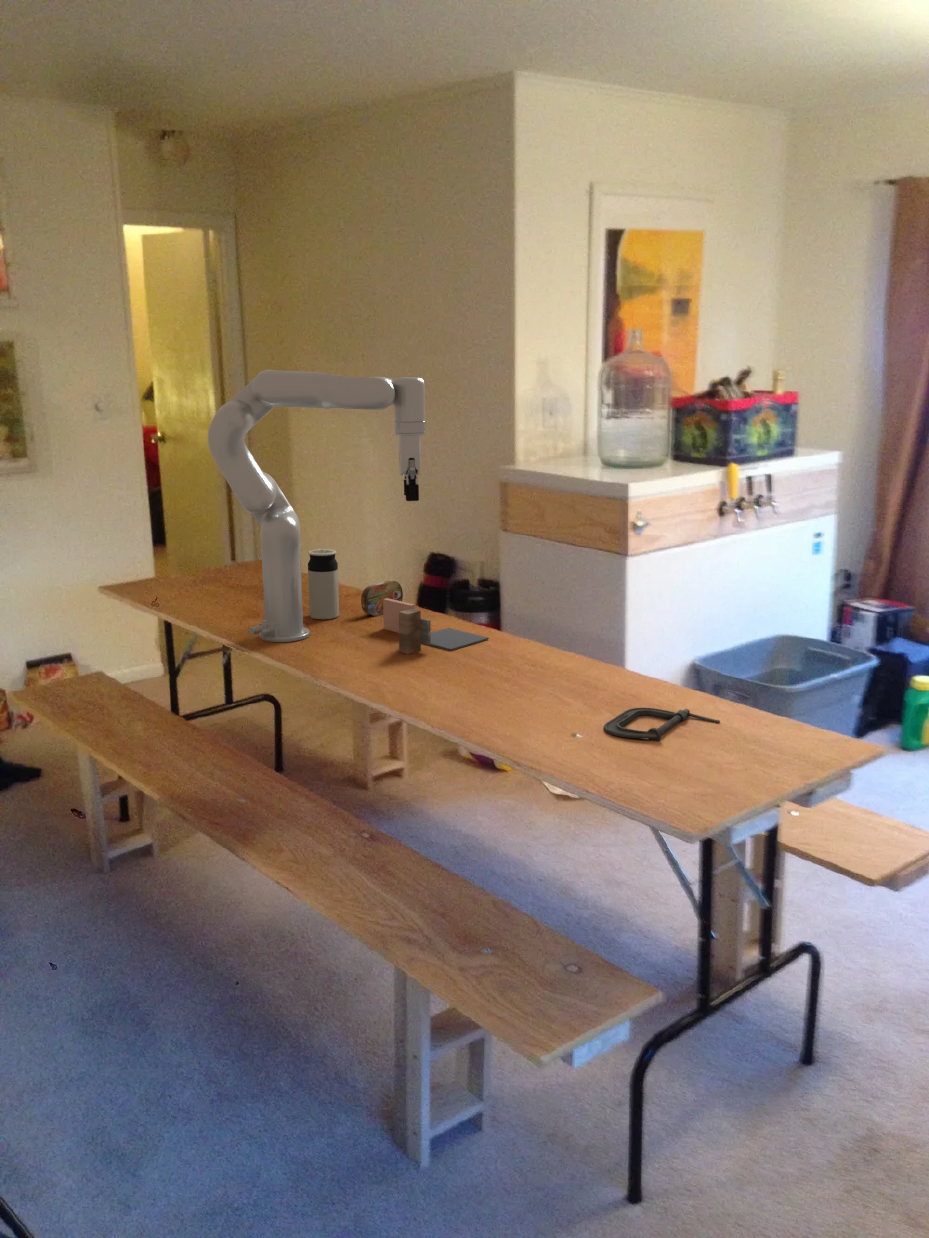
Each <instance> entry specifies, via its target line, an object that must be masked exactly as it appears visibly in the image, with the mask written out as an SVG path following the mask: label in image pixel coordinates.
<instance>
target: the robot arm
mask: <svg viewBox="0 0 929 1238" xmlns="http://www.w3.org/2000/svg"><path fill="white" fill-rule="evenodd" d="M275 407H277V408H278V407H281V408H305V409H306V408H309V409H311V408H312V409H329V410H330V409H348V410H349V409H350V410H351V409H352V410H370V411H379V410H380V411H381V410H385V409H387V408H389V407H394V435H395V436H398V465H399V466H398V469H399V470H398V472H399V475H400V476H401V477H403V476H404V479H403V495H404V496H405V501H406V502H419V500H420V489H419V488H420V487H419V486H420V485H419V481H418V478H419V476H420V474H421V461H422V460H421V459H422V457H421V455H422V452H421V451H422V448H421V447H422V439H421V437H422V436H425V435H426V384H425V381H424V379H423V378H421V377H418V376H417V377H416V376H415V377H414V376H413V377H412V376H407V377H405V376H404V377H397V378H394V377H384V376H372V377H368V376H367V377H366V376H365V377H364V376H363V377H361V376H346V375H345V376H343V375H337V374H331V373H328V372H322V371H321V372H320V371H302V370H301V371H299V370H296V371H294V370H275V369H264V370H262V371H260V372H259V373H257V375H256V376H255V377H254V378H253V379H251V380H250V381H249V382H248V383H247V384H246V385H245V386H244V387H243V388H242V389H241V390H240V391H239V392H238V393H236V394H235V395H234V396H233V397H231V398H230V400H228V401H227V402H226V403H224V404H223V405H221V406H220V408H219V409H218V410H217V411H216V412H215V414H214V416H213V417H212V420H211V422H210V425H209V426H208V427H209V428H208V433H207V445H208V450H209V452H210V455H211V457H212V459H213V460H214V462H215V464H216V466H217V467H218V469H219V471H220V473H221V474H222V476H223V477H224V479H225V481H226V482H227V484H228V485H229V487H230V488H231V491H232V492H233V493H234V495H235V496H236V498H237V500H238V502H239V503H240V505H241V506H242V508H243V509H245V510H246V511H248V512H249V513H250V514H252V516H253V518H254V520H255V521H256V522H257V524H258V525H259V527H260V535H259V536H260V538H259V539H260V551H261V564H262V565H261V566H262V567H261V568H262V569H261V570H262V585H263V607H264V608H263V611H264V619H261V620H260V621H261V622H260V624H259V625H256V626H250V627H249V630H248V632H249V634H250V635H251V636H253V635H258V634H259V636H258V637H259V638H260V639H261V640H263V641H266V642H267V641H268V642H273V643H274V642H275V643H290V642H297V641H301V640H305V639H307V638H309V636H310V633H311V632H310V630H309V629H308V628H307V627H305V626H304V613H303V611H304V610H303V607H304V605H303V584H302V583H303V582H302V581H303V580H302V579H303V578H302V562H301V561H302V560H301V557H302V556H301V523H300V519H299V516H298V515H297V513H296V511H295V510H294V508H293V507H292V505H291V503H290V502H289V500H288V499H287V498H286V496H285V494H284V493H283V491H282V489H281V487H280V486H279V485H278V483H277V482H276V481H275V479H274V478H273V477H272V475H270V474H269V473H267V472H265V471H263V470H262V469H261V467H260V465H259V464H258V463H257V461H256V459H255V458H254V455H253V454H252V453H251V451H250V450H249V449H248V447H247V445H246V443H245V437H246V434H247V433H248V432H249V431H250V430H251V429H252V428H254V426H255V425H257V424H258V423H259V422H260V421H261V420H262V419H263V418H264V417H266V416H267V415H268V414H269V413H270V412H272V410H273V409H275Z"/></svg>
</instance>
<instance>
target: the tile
mask: <svg viewBox="0 0 929 1238" xmlns="http://www.w3.org/2000/svg"><path fill="white" fill-rule="evenodd" d="M409 609H415V610H416V606H415V604H414V603H410V602H405V601H403V600H402V601H398V600H393V599H389V598H386V599H383V614H382V616H383V629H384V630H387V631H390V632H394V633H398V634H399V612H401V611H405V610H409Z"/></svg>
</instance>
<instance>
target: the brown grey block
mask: <svg viewBox="0 0 929 1238" xmlns="http://www.w3.org/2000/svg"><path fill="white" fill-rule="evenodd" d="M421 614H422V613H421V610H419V609H416V608H415V609H409V610H405V611H401V612H399V633H398V652H399V653H400V652H402V653H401V654H404V653H406V654H405V655H411V654H410V653H412V654H415V653H418V652H421V650H422V645H426V644H427V645H426V646H430V645H429V644H431V632H432V631H431V630H432V629H431V619H429V618H423V617H422V616H421ZM422 643H423V644H422ZM414 652H415V653H414Z"/></svg>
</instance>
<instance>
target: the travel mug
mask: <svg viewBox="0 0 929 1238" xmlns="http://www.w3.org/2000/svg"><path fill="white" fill-rule="evenodd" d="M336 554H337V551H336V550H335V549H330V548H317V549H313V550H312V549H311V550H309V551H308V556H309V560H308V562H307V579H308V580H307V583H308V585H307V586H308V609H309V612H308V613H309V617H310V618H311V619H314V620H319V619H322V621H325V620H326V619H327V620H332V619H336V618H337V617H339V616H340V607H339V603H340V602H339V601H340V600H339V596H340V595H339V569H338V567H339V565H338V564H339V563H338V561H337V560H336Z"/></svg>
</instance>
